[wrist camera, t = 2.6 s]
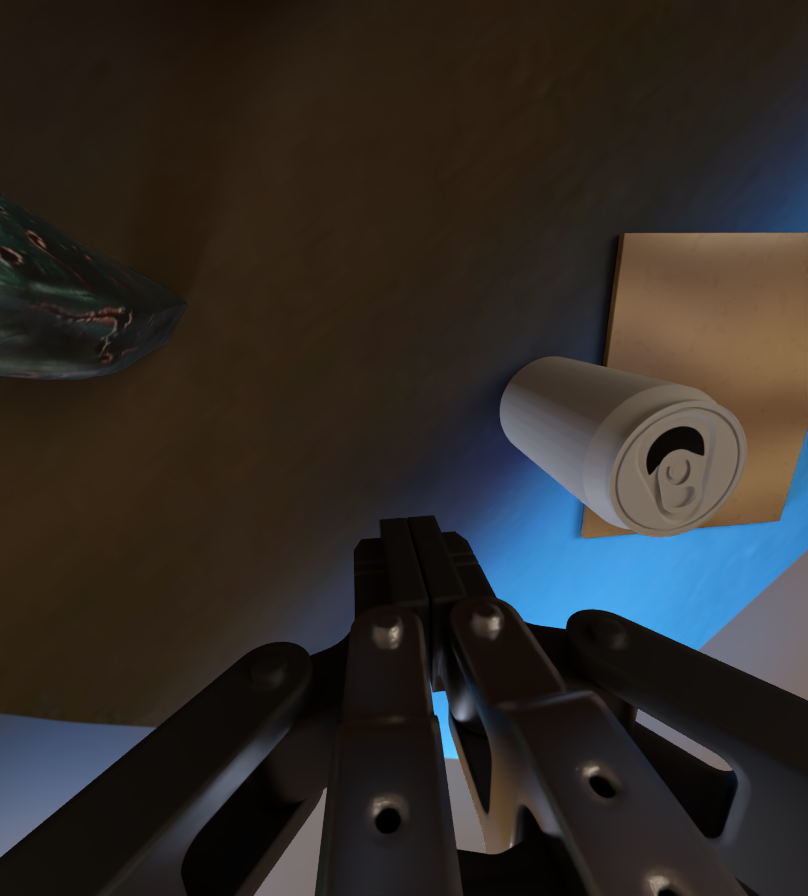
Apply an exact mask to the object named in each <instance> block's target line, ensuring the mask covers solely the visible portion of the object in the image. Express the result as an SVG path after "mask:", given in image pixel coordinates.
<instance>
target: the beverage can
mask: <svg viewBox="0 0 808 896" xmlns="http://www.w3.org/2000/svg"><path fill="white" fill-rule="evenodd" d="M500 421H501V425H502V428H503V431H504V433H505V435H506V436H507V438H508V439H509V440H510V442H511V443H512V444H513V445H514V446H516V447H517V448H518V449H519V450H520V451H522V452H523V453H524V454H525V455H526V456H528V457H529V458H530V459H531V460H532V461H534V462H535V463H536V464H537V465H538V466H540V467H541V468H542V469H543V470H544V471H546V472H547V473H548V474H549V475H550V476H552V477H553V478H554V479H555V480H556V481H558V482H559V483H560V484H561V485H562V486H564V487H565V488H566V489H567V490H568V491H570V492H571V493H572V494H573V495H574V496H576V497H577V498H578V499H579V500H580V501H582V502H583V503H584V504H585V505H586V506H588V507H589V508H590V509H591V510H592V511H594V512H595V513H596V514H597V515H598V516H600V517H601V518H602V519H603V520H605V521H606V522H608V523H610V524H612V525H614V526H617V527H620V528H624V529H629V530H633V531H635V532H636V533H639V534H642V535H645V536H650V537H669V536H675V535H679V534H682V533H685V532H688V531H690V530H692V529H694V528H696V527H698V526H700V525H701V524H703V523H705V522H706V521H707V520H709V519H710V518H711V517H712V516H714V515H715V514H716V513H717V512H718V511H719V510H720V509H721V508H722V507H723V506H724V505H725V504H726V502H727V501H728V500H729V499H730V497H731V496H732V494H733V493H734V491H735V490H736V488H737V486H738V484H739V482H740V480H741V477H742V475H743V472H744V468H745V464H746V457H747V443H746V437H745V434H744V431H743V428H742V426H741V424H740V423H739V421H738V419H737V418H736V417H735V416H734V415H733V414H732V413H731V412H730V411H729V410H727V409H726V408H724V407H722V406H720V405H718V404H717V403H716V402H715V401H714V400H713V399H712V398H711V397H710V396H709V395H707V394H706V393H704V392H702V391H701V390H699V389H696V388H693V387H689V386H685V385H680V384H676V383H672V382H668V381H663V380H659V379H655V378H650V377H646V376H642V375H637V374H633V373H629V372H625V371H620V370H616V369H612V368H607V367H603V366H599V365H594V364H590V363H586V362H582V361H577V360H573V359H569V358H564V357H558V356H553V357H545V358H541V359H538V360H535V361H533V362H531V363H529V364H527V365H526V366H524V367H523V368H522V369H521V370H519V371H518V372H517V373H516V374H515V375H514V377H513V378H512V379H511V380H510V382H509V383H508V385H507V387H506V389H505V391H504V393H503V396H502V399H501V404H500Z"/></svg>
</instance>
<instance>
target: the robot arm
mask: <svg viewBox="0 0 808 896" xmlns="http://www.w3.org/2000/svg"><path fill="white" fill-rule="evenodd" d="M379 524H380V538H372V539H361V541H360V542H359V544H358V545H357V547H356V548H355V550H354V589H355V621H354V622H353V624H352V626H351V630H350V632H349V633H348V635H347V636H346V637H345V638H344V639H343V640H342V641H340V642H339V643H338V644H336V645H334V646H333V647H331V648H328V649H326V650H324V651H321V652H318V653H316V654H313V655H311V656H309V654H308V652H307V651H306V650H305V649H304V648H302V647H301V646H299V645H297V644H294V643H290V642H274V643H269V644H266V645H263V646H260V647H258V648H256V649H254V650H252V651H250V652H249V653H247V654H246V655H244V656H243V657H242V658H241V659H239V660H238V661H237V662H236V663H235V664H233V665H232V666H231V667H230V668H229V669H227V670H226V671H225V672H224V673H223V674H221V675H220V676H219V677H218V678H217V679H215V680H214V681H213V682H212V683H210V684H209V685H208V686H207V687H206V688H204V689H203V690H202V691H201V692H200V693H198V694H197V695H196V696H195V697H194V698H192V699H191V700H190V701H189V702H188V703H186V704H185V705H184V706H183V707H182V708H180V709H179V710H178V711H177V712H175V713H174V714H173V715H172V716H171V717H169V718H168V719H167V720H166V721H165V722H163V723H162V724H161V725H160V726H159V727H157V728H156V729H155V730H154V731H153V732H151V733H150V734H149V735H148V736H147V737H145V738H144V739H143V740H142V741H141V742H139V743H138V744H137V745H136V746H134V747H133V748H132V749H131V750H130V751H128V752H127V753H126V754H125V755H124V756H122V757H121V758H120V759H119V760H118V761H116V762H115V763H114V764H113V765H111V766H110V767H109V768H108V769H107V770H105V771H104V772H103V773H102V774H101V775H99V776H98V777H97V778H96V779H95V780H93V781H92V782H91V783H90V784H89V785H87V786H86V787H85V788H84V789H82V790H81V791H80V792H79V793H78V794H76V795H75V796H74V797H73V798H72V799H70V800H69V801H68V802H67V803H66V804H65V805H63V806H62V807H61V808H60V809H58V810H57V811H56V812H55V813H54V814H52V815H51V816H50V817H49V818H47V819H46V820H45V821H44V822H43V823H42V824H40V825H39V826H38V827H37V828H35V829H34V830H33V831H32V832H31V833H29V834H28V835H27V836H26V837H25V838H23V839H22V840H21V841H20V842H18V843H17V844H16V845H15V846H14V847H12V848H11V849H10V850H9V851H8V852H6V853H5V854H4V855H3V856H2V857H0V896H254V894H255V893H256V891H257V890H258V888H259V887H260V886H261V884H262V883H263V881H264V880H265V878H266V877H267V876H268V874H269V873H270V871H271V870H272V868H273V867H274V866H275V864H276V863H277V861H278V860H279V858H280V857H281V856H282V854H283V853H284V851H285V850H286V848H287V847H288V846H289V844H290V843H291V841H292V840H293V839H294V837H295V836H296V834H297V833H298V831H299V830H300V828H301V827H302V826H303V824H304V823H305V821H306V820H307V819H308V817H309V816H310V814H311V813H312V811H313V810H314V808H315V807H316V805H317V804H318V802H319V800H320V798H321V796H322V793H323V790H324V789H325V788H326V787H327V794H326V804H325V812H324V821H323V829H322V838H321V846H320V855H319V864H318V872H317V881H316V890H315V896H808V701H807V700H805V699H803V698H801V697H798V696H796V695H794V694H792V693H790V692H788V691H785V690H783V689H781V688H779V687H776V686H774V685H772V684H770V683H768V682H765V681H763V680H761V679H758V678H757V677H754V676H752V675H750V674H748V673H745V672H743V671H741V670H739V669H736V668H734V667H732V666H730V665H728V664H726V663H723V662H721V661H719V660H717V659H714V658H712V657H710V656H708V655H706V654H703V653H701V652H699V651H697V650H694V649H692V648H690V647H688V646H686V645H683V644H681V643H679V642H677V641H675V640H672V639H670V638H668V637H666V636H663V635H661V634H659V633H657V632H655V631H652V630H650V629H648V628H646V627H643V626H641V625H639V624H637V623H635V622H632V621H630V620H628V619H626V618H624V617H621V616H619V615H616V614H614V613H611V612H607V611H603V610H595V609H589V610H582V611H578V612H576V613H574V614H573V615H572V616H570V618H569V619H568V621H567V625H566V629H561V628H553V627H546V626H539V625H534V624H530V623H527V622H524V621H523V619H522V618H521V616H520V615H519V613H518V612H517V611H516V610H515V609H514V608H513V607H512V606H511V605H510V604H508V603H507V602H505V601H503V600H501V599H498V598H497V597H496V596H495V594H494V592H493V590H492V588H491V586H490V584H489V582H488V580H487V578H486V576H485V574H484V572H483V570H482V568H481V566H480V565H479V564H478V561H477V559H476V557H475V555H473V551H472V549H471V547H470V545H469V543H468V541H467V540H466V539H464V538H463V537H461V536H460V535H459V534H457V533H456V532H443V533H441V530H440V528H439V526H438V523H437V521H436V518H435V516H434V515H431V516H419V517H408V518H407V519H406V518H394V519H382V520H380V521H379ZM429 678H430V679H429ZM430 683H431V687H432V692H439V691H446V695H447V699H448V703H449V715H448V721H449V728H450V732H451V735H452V738H453V741H454V744H455V747H456V751H457V754H458V757H459V760H460V763H461V766H462V769H463V772H464V775H465V779H466V782H467V785H468V788H469V791H470V794H471V797H472V800H473V803H474V806H475V809H476V813H477V816H478V819H479V822H480V825H481V828H482V833H483V838H484V842H485V849H486V854H484V853H478V852H471V851H464V850H458V849H457V848H456V840H455V834H454V827H453V820H452V811H451V804H450V797H449V790H448V782H447V775H446V769H445V761H444V753H443V746H442V739H441V732H440V726H439V720H438V717H437V715H435V716H434V710H433V702H432V695H431V687H430ZM638 709H640V710H642V711H643V712H645V713H647V714H649V715H650V716H652V717H654V718H655V719H657V720H659V721H661V722H663V723H664V724H666V725H668V726H669V727H671V728H673V729H675V730H676V731H678V732H680V733H682V734H683V735H685V736H687V737H688V738H690V739H692V740H694V741H695V742H697V743H699V744H701V745H702V746H704V747H706V748H707V749H709V750H711V751H713V752H714V753H716V754H718V755H719V756H720V757H721V758H723V759H724V760H725V761H726V762H727V763H728V764H729V765H730V767H731V768H732V769H733V770H732V771H722V770H719V769H716V768H714V767H712V766H709V765H708V764H706V763H705V762H703V761H701V760H700V759H698V758H696V757H694V756H693V755H691V754H689V753H688V752H686V751H684V750H683V749H681V748H679V747H678V746H676V745H674V744H673V743H671V742H669V741H668V740H666V739H664V738H663V737H661V736H659V735H658V734H656V733H654V732H653V731H651V730H649V729H648V728H646V727H644V726H642V725H641V724H639V723H638V722H636V721H635V719H636V715H637V710H638Z"/></svg>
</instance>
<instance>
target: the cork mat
mask: <svg viewBox="0 0 808 896" xmlns="http://www.w3.org/2000/svg"><path fill="white" fill-rule="evenodd" d="M603 367H607V368H612V369H616V370H620V371H625V372H629V373H633V374H637V375H642V376H646V377H650V378H655V379H659V380H663V381H668V382H672V383H676V384H680V385H685V386H689V387H693V388H696V389H699V390H701V391H702V392H704V393H706V394H707V395H709V396H710V397H711V398H712V399H713V400H714V401H715V402H716V403H717V404H718V405H720V406H722V407H724V408H726V409H727V410H729V411H730V412H731V413H732V414H733V415H734V416H735V417H736V418H737V419H738V421H739V423H740V424H741V426H742V428H743V431H744V434H745V437H746V443H747V457H746V464H745V468H744V472H743V475H742V477H741V480H740V482H739V484H738V486H737V488H736V490H735V491H734V493H733V494H732V496H731V497H730V499H729V500H728V501H727V502H726V504H725V505H724V506H723V507H722V508H721V509H720V510H719V511H718V512H717V513H716V514H715V515H714V516H712V517H711V518H710V519H709V520H707V521H706V522H705V523H703V524H701V525H700V526H698V527H696V528H706V527H717V526H728V525H739V524H751V523H762V522H773V521H780V518H781V515H782V511H783V508H784V505H785V501H786V498H787V495H788V491H789V488H790V485H791V481H792V478H793V475H794V471H795V468H796V465H797V461H798V458H799V455H800V451H801V448H802V445H803V441H804V438H805V435H806V431H807V428H808V233H623V234H620V236H619V244H618V252H617V259H616V267H615V275H614V282H613V290H612V298H611V306H610V313H609V321H608V329H607V336H606V344H605V352H604V359H603ZM627 534H638V533H636V532H635V531H633V530H629V529H624V528H620V527H617V526H614V525H612V524H610V523H608V522H606V521H605V520H603V519H602V518H601V517H600V516H598V515H597V514H596V513H595V512H594V511H592V510H591V509H590V508H589V507H588V506H586V505H585V506H584V514H583V521H582V529H581V536H582V537H583V538H593V537H604V536H615V535H627Z"/></svg>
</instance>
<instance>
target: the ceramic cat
mask: <svg viewBox="0 0 808 896" xmlns="http://www.w3.org/2000/svg"><path fill="white" fill-rule="evenodd" d="M186 306H187V303H186V301H184V300H182V299H180V298H179V297H177V296H176V295H175V294H174V293H172V292H171V291H170V290H169V289H167V288H166V287H165V286H163V285H161V284H159V283H157V282H155V281H154V280H152V279H150V278H148V277H146V276H144V275H142V274H140V273H138V272H137V271H135V270H133V269H131V268H129V267H126V266H124V265H122V264H120V263H118V262H116V261H114V260H113V259H111V258H109V257H107V256H105V255H104V254H102V253H100V252H98V251H96V250H94V249H93V248H91V247H89V246H87V245H85V244H84V243H82V242H80V241H78V240H76V239H75V238H73V237H71V236H69V235H68V234H66V233H64V232H62V231H61V230H59V229H57V228H56V227H54V226H53V225H52V224H50V223H49V222H47V221H46V220H44V219H43V218H41V217H39V216H37V215H36V214H34V213H32V212H30V211H28V210H27V209H25V208H23V207H22V206H20V205H19V204H18V203H16V202H15V201H13V200H12V199H10V198H9V197H7V196H6V195H4V194H3V193H1V192H0V376H9V377H21V378H32V379H44V380H82V379H86V378H91V377H95V376H102V375H107V374H112V373H116V372H119V371H122V370H124V369H125V368H127V367H129V366H130V365H132V364H134V363H135V362H136V360H138V359H140V358H141V357H143V356H145V355H146V354H148V353H149V352H151V351H153V350H155V349H157V348H159V347H161V346H163V345H165V344H166V343H167V342H168V341H169V339H170V337H171V335H172V333H173V331H174V329H175V326H176V324H177V321H178V319H179V318H180V316H181V315H182V313H183V312H184V310H185V308H186Z"/></svg>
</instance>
